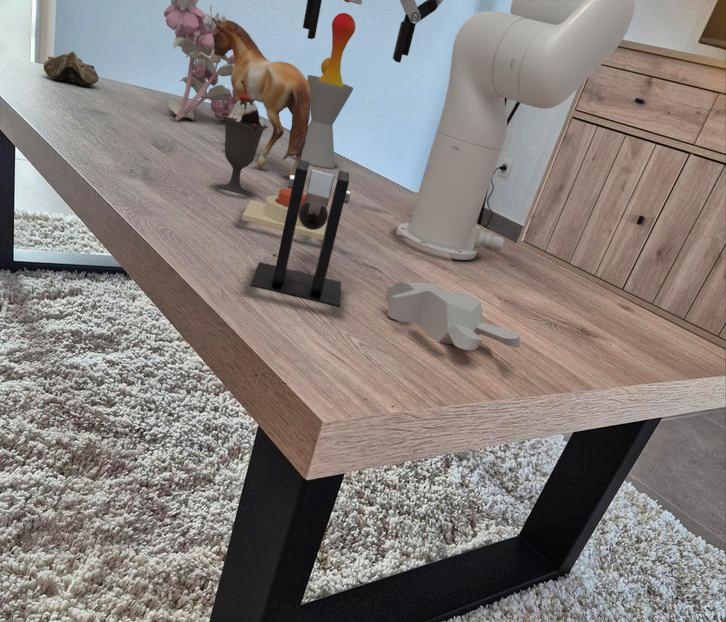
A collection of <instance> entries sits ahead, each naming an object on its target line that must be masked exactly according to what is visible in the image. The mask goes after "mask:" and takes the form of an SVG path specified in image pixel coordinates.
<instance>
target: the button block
mask: <svg viewBox="0 0 726 622" xmlns="http://www.w3.org/2000/svg"><path fill="white" fill-rule="evenodd" d="M278 196H279V194H278V195H277V194H274V195H267V196H266V198H265V201H264V202H261V201H257V200H254V199H250V200H249V202H248V204H247V206H246V208H245V210H244V212H243V213H242V214H241V221H245V222H248V223H252V224H256V225H260V226H265V227H267V228H268V227H269V228H273V229H276V230H280V231H283V229H284V225H285V220H286V215H287V210H288V207H286V206H283V205H281V204H278V203H277V201H278ZM327 220H328V218H327ZM326 225H327V221H326V223H325V225H324V226H323V227H321V228H320V229H317V230H310V229H307V228H306V227H304V226H303V225H302V224H301V222H300V220H299V213H298V218H297V223H296V227H295V232H294V234H296V235H301V236H304V237H309V238H312V239H317V240H321V241H323V237H324V233H325V229H326Z"/></svg>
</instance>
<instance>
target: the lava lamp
mask: <svg viewBox="0 0 726 622" xmlns="http://www.w3.org/2000/svg"><path fill="white" fill-rule="evenodd" d="M343 1H344V2H345V3H353V4H355V5H356V4H357V5H360V6H362V1H363V0H343ZM355 31H356V22H355V20H354V18H353V16H352V15H350V14H349V13H346V12H341V13H338V14H337V15H335V16H334V18H333V19H332V22H331V36H332V38H331V39H332V41H331V42H332V45H331V53H330V57H326V58H325V59H324V60H322V62H321V65H320V71H321V74H322V75H321V76H316V75H311V74H308V75H307V78H306V79H307V81H308V83H309V85H310V90H311V94H310V118H311V119H310V120H309V123H308V132H307V135H306V138H305V145H304V148H303V151H302V157H301V160H304V161H307V162H309V165H311V166H315V167H321V168H328V169H329V168H330V169H331V168H335V146H334V130H333V129H334V127H333V125H334V124H335V122H336V120H337V119H338V117H339V115H340V113H341V112H342V110H343V108H344V106H345V104H346V103H347V101H348V100H349V98H350V96H351V94H352V92H353V91H354V87H353V86H352V85H351V86H350V85H349V84H345V83H344V82H343V79H342V74H341V67H342V66H341V65H342V58H343V55H344V54H343V53H344V51H345V49H346V47H347V45H348V43H349V41H350V40H351V38H352V37H353V35H354V34H355ZM291 156H292V157H293V159H296V156H295V155H291Z"/></svg>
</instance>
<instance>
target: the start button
mask: <svg viewBox="0 0 726 622" xmlns="http://www.w3.org/2000/svg"><path fill="white" fill-rule="evenodd" d="M278 191H279V192H278V201H277V203H278V204H281V205H283V206H286V207H288V205H289V201H290V196H291V191H292V189H289V188H280V189H279V190H278ZM305 199H306V194H305V193H303V195H302V200H301V204H300V207H301V206H302V204H303V203H305Z"/></svg>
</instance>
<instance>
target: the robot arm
mask: <svg viewBox="0 0 726 622" xmlns="http://www.w3.org/2000/svg"><path fill="white" fill-rule="evenodd" d="M443 1H444V0H425V1H423V2H422V3H421V4H419V5H417V3H416V0H399V2H400V4H401V7H402V9H403V11H404V14H405V15H404V17H403V21H401V22H400V25H399V30H398V34H397V39H396V42H395V47H394V50H393V56H392V59H393V61H394V62H396V63H399V64H401V62H402V57H403V56H407V57H408V56H409V54H410V49H411V46H412V41H413V37H414V33H415V29H416V25H417V24H418V23H419V22H421V21H422V20H423V19H425V18H427V17H428V16H430V15H431V14H432V13H434V12H435V11H436V10H437V9H438V7H440V5H441V4H442V3H443ZM322 2H323V1H322V0H307V2H306V7H305V13H304V18H303V24H302V28H303V29H304V30H305V29H306V30H308V31H307V39H309V40H313V39H315V38H316V34H317V30H318V25H319V18H320V12H321V8H322ZM635 5H636V0H512V3H511V5H510V13H509V12H503V11H497V10H493V11H492V10H486V11H481V12H478V13H476V14H475V13H474V14H473V15H472V16H470V17H469V18H468V19H466V20H465V21H464V23H463V24H462V25H461V27H460V28H459V30H458V32H457V34H456V36H455V39H454V42H453V46H452V52H451V58H450V59H451V60H450V69H449V79H448V83H447V84H448V85H447V90H446V95H445V98H444V103H443V107H442V110H441V113H440V117H439V121H438V125H437V128H436V131H435V134H434V138H433V142H432V145H431V148H430V151H429V155H428V158H427V162H426V166H425V169H424V172H423V176H422V179H421V183H420V186H419V190H418V192H417V195H416V200H415V202H414V205H413V210H412V213H411V217H410V220H409V222H403V223H400V224H398V225H397V227H396V230H395V234H396V235H398V236H402V237H405V238H407V239H409V240H410V241H412V242H415V243H417V244H418V245H421V246H423V247H427V248H429V249H433V250H436V251H439V252H443V253H447V254H449V257H450V258H451V260H458V261H471V260H473V259H475V258H476V257H477V255H478V251H479V250H478V248H481V246H482V247H483V246H484V247H486V248H489V249H492V250H496V251H501V250H502V249H503V246H504V243H505V242H504V241H505V239H504V237H501V236H498V235H494V234H493V233H492V232H488V231H485V230H482V229H481V228H480V226H479V224H478V223H477V222H478V220H479V217H480V214H481V211H482V208H483V206H484V203H485V199H486V196H487V193H488V191H489V188H490V185H491V182H492V179H493V176H494V174H495V173H494V172H495V170H496V167H497V164H498V161H499V157H500V155H501V152H502V150H503V147H504V144H505V140H506V137H507V132H508V116H507V108H506V100H505V99H508V100H511V101H514V102H517V103H520V104H523V105H527V106H530V107H534V108H537V109H544V110H546V109H553V108H555V107H557V106H559V105H561V104H562V103H564V102H565V101H567V100H568V99H569V98H570V97H571V96H572V95H573V94H574V93H575V92H576V91H577V90H578V89H579V88H580V87H581V86H582V85H583V84H584V83H585V82H586V81H587V80H588V79H589V78H590V77H591V76H592V75H593V74H594V73H595V72H596V71H597V70H598V69H599V68H600V67H601V66H602V65H603V64H604V63H605V62H606V61H607V60H608V58H609V57H610V56H611V55H613V53H614V52H615V51H616V50H617V48H618V47H619V46H620V44H621V43H622V41H623V39H624V38H625V36H626V34H627V33H628V30H629V28H630V25H631V23H632V20H633V17H634V12H635Z"/></svg>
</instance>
